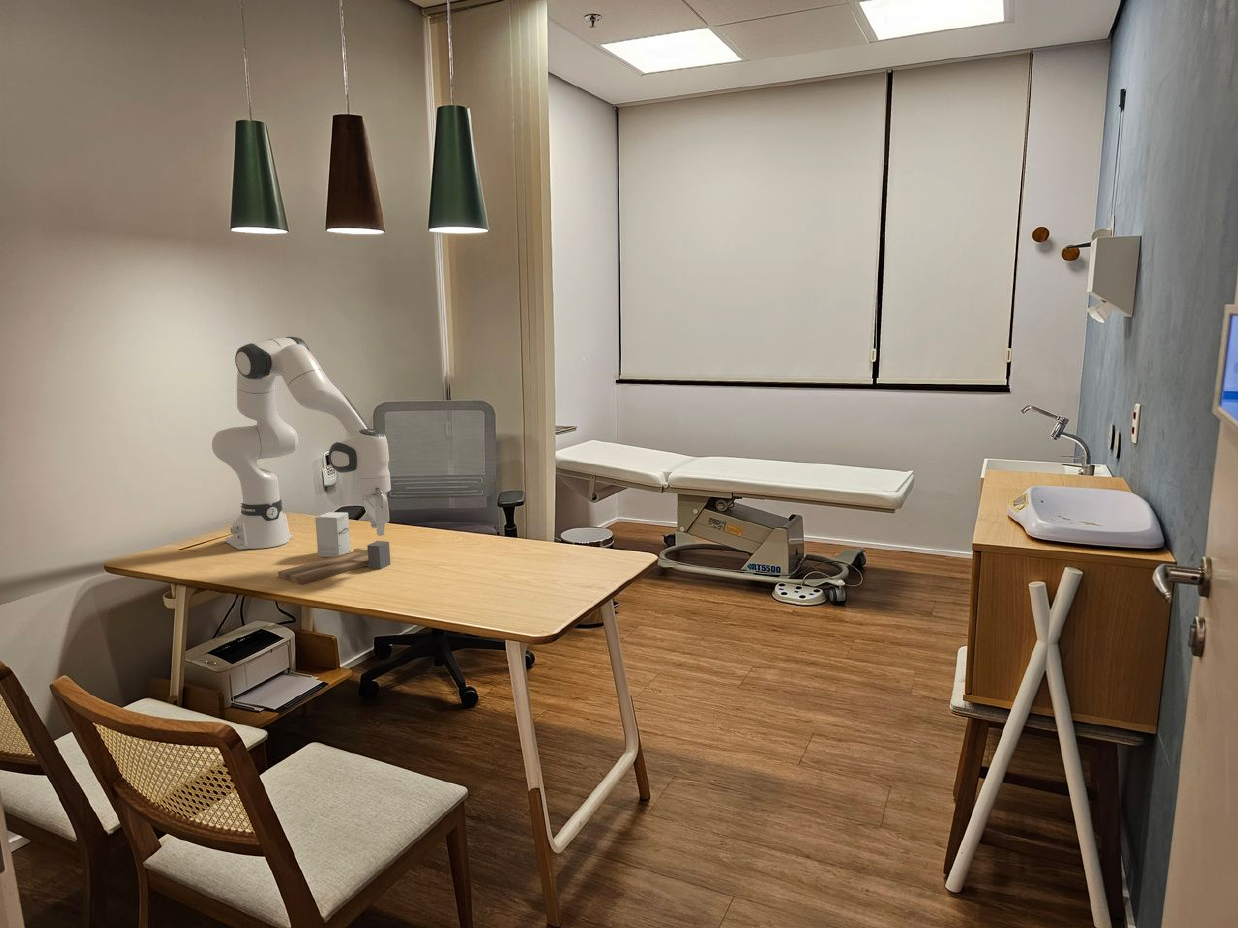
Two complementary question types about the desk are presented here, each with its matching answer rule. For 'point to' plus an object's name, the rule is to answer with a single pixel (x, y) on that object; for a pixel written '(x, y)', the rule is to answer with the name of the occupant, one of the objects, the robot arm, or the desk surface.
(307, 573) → the plank
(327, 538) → the supplement box
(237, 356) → the robot arm
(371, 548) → the gray-headed mallet
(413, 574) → the desk surface
